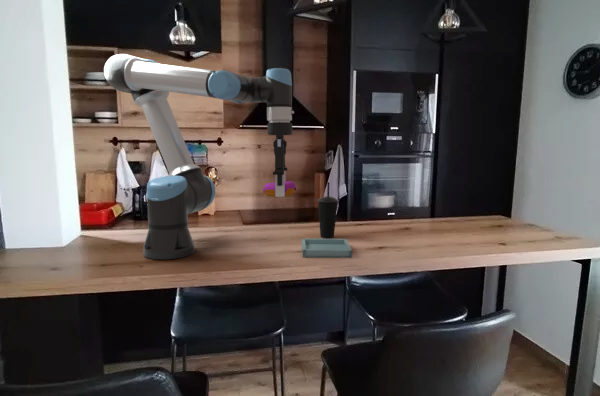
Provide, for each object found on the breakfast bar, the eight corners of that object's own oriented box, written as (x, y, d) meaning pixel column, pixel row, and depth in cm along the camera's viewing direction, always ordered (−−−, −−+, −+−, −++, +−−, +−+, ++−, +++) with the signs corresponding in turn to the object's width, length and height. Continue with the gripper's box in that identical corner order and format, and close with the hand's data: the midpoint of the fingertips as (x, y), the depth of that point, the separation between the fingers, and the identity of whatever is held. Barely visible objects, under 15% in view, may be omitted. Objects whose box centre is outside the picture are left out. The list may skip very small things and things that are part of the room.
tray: (302, 257, 127) (303, 250, 127) (301, 244, 141) (301, 238, 141) (352, 257, 128) (352, 250, 127) (346, 245, 141) (346, 238, 141)
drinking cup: (336, 240, 148) (337, 184, 144) (315, 238, 149) (316, 183, 146) (338, 235, 155) (340, 181, 152) (318, 233, 157) (319, 180, 153)
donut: (283, 192, 137) (283, 178, 136) (303, 196, 129) (303, 181, 129) (256, 195, 131) (256, 181, 130) (276, 199, 123) (275, 183, 122)
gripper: (291, 120, 115) (292, 199, 118) (292, 122, 138) (293, 188, 141) (264, 121, 115) (265, 199, 118) (269, 123, 138) (271, 188, 141)
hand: (280, 193), depth 130 cm, fingers closed on donut, 11 cm apart
